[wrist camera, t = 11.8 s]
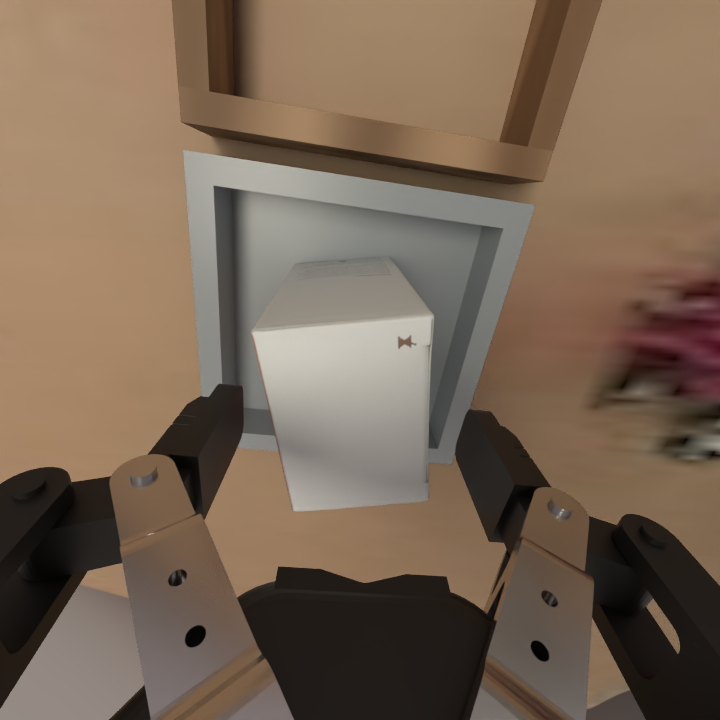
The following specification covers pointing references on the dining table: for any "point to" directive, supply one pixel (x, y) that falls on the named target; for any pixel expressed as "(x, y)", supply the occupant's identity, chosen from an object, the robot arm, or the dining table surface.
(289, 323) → the small box
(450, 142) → the frame
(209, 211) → the tray
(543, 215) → the dining table surface
